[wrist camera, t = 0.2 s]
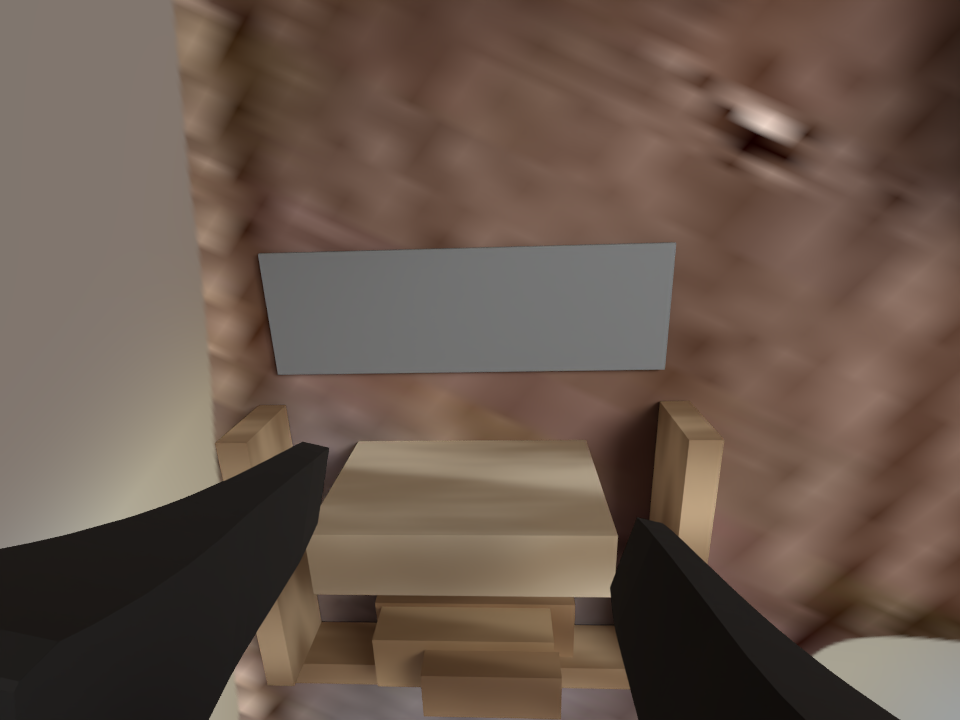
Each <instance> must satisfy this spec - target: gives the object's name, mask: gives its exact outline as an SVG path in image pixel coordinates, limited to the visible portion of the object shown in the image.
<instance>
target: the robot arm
mask: <svg viewBox="0 0 960 720" xmlns="http://www.w3.org/2000/svg"><path fill="white" fill-rule="evenodd" d="M328 452H329V448H328V447H323V446H319V445H314V444H310V443H306V442H301V443H299V444H297V445H295V446H293V447H291V448H289V449H287V450H285V451H283V452H281V453H279V454H277V455H276V456H274V457H272V458H270V459H268V460H266V461H264V462H262V463H260V464H258V465H256V466H254V467H252V468H250V469H248V470H246V471H244V472H242V473H240V474H238V475H236V476H234V477H231V478H229V479H227V480H225V481H222V482H220V483H218V484H216V485H213V486H211V487H209V488H207V489H204V490H202V491H200V492H197V493H195V494H193V495H191V496H188V497H186V498H183V499H180V500H178V501H175V502H173V503H170V504H167V505H164V506H162V507H159V508H156V509H153V510H150V511H147V512H144V513H141V514H138V515H135V516H132V517H129V518H126V519H122V520H119V521H115V522H111V523H107V524H104V525H101V526H97V527H93V528H89V529H86V530H82V531H78V532H75V533H71V534H67V535H63V536H59V537H55V538H50V539H46V540H41V541H37V542H33V543H28V544H23V545H18V546H12V547H7V548H2V549H0V720H209V718H210V716H211V714H212V712H213V710H214V708H215V706H216V704H217V702H218V700H219V698H220V696H221V694H222V692H223V690H224V688H225V686H226V684H227V682H228V680H229V678H230V676H231V674H232V673H233V671H234V669H235V667H236V666H237V664H238V662H239V660H240V659H241V657H242V655H243V653H244V652H245V650H246V648H247V647H248V645H249V644H250V642H251V640H252V639H253V637H254V636H255V634H256V632H257V631H258V629H259V628H260V626H261V624H262V623H263V621H264V620H265V618H266V616H267V615H268V613H269V612H270V610H271V608H272V607H273V605H274V604H275V602H276V600H277V599H278V597H279V596H280V594H281V592H282V591H283V589H284V587H285V586H286V584H287V583H288V581H289V579H290V578H291V576H292V574H293V573H294V571H295V569H296V568H297V566H298V564H299V563H300V561H301V559H302V557H303V554H304V552H305V550H306V548H307V546H308V544H309V542H310V539H311V537H312V535H313V533H314V531H315V528H316V526H317V524H318V519H319V512H320V506H321V499H322V492H323V486H324V479H325V472H326V466H327V459H328ZM610 593H611V602H612V611H613V618H614V625H615V632H616V636H617V640H618V644H619V648H620V652H621V656H622V660H623V663H624V667H625V671H626V675H627V679H628V682H629V686H630V690H631V693H632V697H633V701H634V705H635V708H636V712H637V716H638V720H899V719H898V718H896V717H895V716H893V715H892V714H891V713H889V712H888V711H886V710H885V709H883V708H882V707H880V706H879V705H877V704H876V703H875V702H873V701H872V700H870V699H869V698H867V697H866V696H864V695H863V694H862V693H860V692H859V691H857V690H856V689H854V688H853V687H852V686H850V685H849V684H847V683H846V682H845V681H843V680H842V679H841V678H839V677H838V676H836V675H835V674H834V673H832V672H831V671H829V670H828V669H827V668H826V667H825V666H823V665H822V664H821V663H819V662H818V661H817V660H815V659H814V658H813V657H812V656H811V655H809V654H808V653H807V652H805V651H804V650H803V649H802V648H800V647H799V646H798V645H796V644H795V643H794V642H793V641H792V640H790V639H789V638H788V637H787V636H785V635H784V634H783V633H782V632H781V631H779V630H778V629H777V628H776V627H775V626H774V625H773V624H771V623H770V622H769V621H768V620H767V619H766V618H765V617H763V616H762V615H761V614H760V613H759V612H758V611H757V610H756V609H754V608H753V607H752V606H751V605H750V604H749V603H748V602H747V601H746V600H744V599H743V598H742V597H741V596H740V595H739V594H738V593H737V592H736V591H735V590H734V589H733V588H732V587H730V586H729V585H728V584H727V583H726V582H725V581H724V580H723V579H722V578H721V577H720V576H719V575H718V574H717V573H716V572H715V571H714V570H713V569H712V568H711V567H710V566H709V565H708V564H707V563H706V562H704V561H703V560H702V559H701V558H700V557H699V556H698V555H697V554H696V553H695V552H694V551H693V550H692V549H691V548H690V547H689V546H688V545H687V544H686V543H685V542H684V541H683V540H682V539H681V538H679V537H678V536H677V535H676V534H675V533H674V532H673V531H672V530H671V529H669V528H668V527H667V526H666V525H664V524H663V523H660V522H655V521H651V520H646V519H642V518H638V517H637V519H636V522H635V524H634V527H633V529H632V532H631V534H630V537H629V540H628V542H627V545H626V547H625V550H624V552H623V555H622V558H621V560H620V563H619V565H618V568H617V570H616V573H615V576H614V578H613V581H612V583H611V586H610Z"/></svg>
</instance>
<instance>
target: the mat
mask: <svg viewBox="0 0 960 720" xmlns="http://www.w3.org/2000/svg"><path fill="white" fill-rule="evenodd" d="M675 251H676V243H674V242H671V243H633V244H595V245H557V246H519V247H481V248H443V249H405V250H367V251H329V252H291V253H260V254H258V258H259V264H260V270H261V276H262V282H263V288H264V294H265V300H266V306H267V312H268V318H269V324H270V330H271V336H272V342H273V348H274V354H275V360H276V366H277V372H278V375H292V374H365V373H439V372H513V371H587V370H660V369H665V362H666V350H667V339H668V328H669V317H670V306H671V295H672V284H673V273H674V262H675Z"/></svg>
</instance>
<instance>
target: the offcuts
mask: <svg viewBox="0 0 960 720" xmlns="http://www.w3.org/2000/svg"><path fill="white" fill-rule="evenodd" d="M375 607H376V615H377V625H376V629H375V632H374V635H373V639H372V643H373V651H374V659H375V667H376V675H377V683H378V686H394V687H421V689H422V700H423V711H424V716H440V717H485V718H531V719H561V693H562V675H561V667H560V659H559V656H561V657H573V649H574V622H575V602H574V597H524V596H422V595H377V598H376V601H375Z"/></svg>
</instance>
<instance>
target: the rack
mask: <svg viewBox="0 0 960 720" xmlns="http://www.w3.org/2000/svg"><path fill="white" fill-rule="evenodd" d="M215 446H216V450H217V455H218V459H219V464H220V469H221V473H222V478H223V481H225V480H227V479H229V478H231V477H234V476H236V475H238V474H240V473H242V472H244V471H246V470H248V469H250V468H252V467H254V466H256V465H258V464H260V463H262V462H264V461H266V460H268V459H270V458H272V457H274V456H276V455H277V454H279V453H281V452H283V451H285V450H287V449H289V448H291V447H293V446H292V440H291V434H290V428H289V422H288V416H287V409H286V405H259V406H258V407H256V408H255V409H254V410H253V411H252V412H251V413H250V414H248V415H247V416H246V417H245V418H244V419H243V420H241V421H240V422H239V423H238V424H237V425H236V426H234V427H233V428H232V429H231V430H230V431H229V432H227V433H226V434H225V435H224V436H223V437H222V438H221V439H219V440H218V441H217V442H216V443H215ZM723 446H724V439H723V438H722V437H721V436H720V435H719V434H718V432H717V431H716V430H715V429H714V428H713V427H712V426H711V425H710V424H709V422H708V421H707V420H706V419H705V418H704V417H703V416H702V415H701V414H700V412H699V411H698V410H697V409H696V408H695V407H694V406H693V405H692V404H691V402H690V401H660V406H659V417H658V428H657V439H656V451H655V462H654V473H653V484H652V495H651V507H650V518H649V520H651V521H655V522H660V523H663V524H664V525H666V526H667V527H668V528H669V529H671V530H672V531H673V532H674V533H675V534H676V535H677V536H678V537H679V538H681V539H682V540H683V541H684V542H685V543H686V544H687V545H688V546H689V547H690V548H691V549H692V550H693V551H694V552H695V553H696V554H697V555H698V556H699V557H700V558H701V559H702V560H703V561H704V562H706V563H708V556H709V549H710V541H711V534H712V527H713V519H714V512H715V505H716V497H717V490H718V483H719V475H720V468H721V461H722V453H723ZM376 625H377V623H370V622H321V616H320V610H319V604H318V598H317V594H314V593H313V587H312V581H311V575H310V569H309V563H308V557H307V551H306V550H305V552H304V554H303V557H302V559H301V561H300V563H299V564H298V566H297V568H296V569H295V571H294V573H293V574H292V576H291V578H290V579H289V581H288V583H287V584H286V586H285V587H284V589H283V591H282V592H281V594H280V596H279V597H278V599H277V600H276V602H275V604H274V605H273V607H272V608H271V610H270V612H269V613H268V615H267V616H266V618H265V620H264V621H263V623H262V624H261V626H260V628H259V629H258V631H257V632H256V634H257V638H258V643H259V647H260V652H261V656H262V661H263V666H264V670H265V675H266V679H267V684H268V685H276V686H294V685H295V683H329V684H378V683H377V675H376V667H375V659H374V651H373V643H372V639H373V635H374V632H375V629H376ZM559 659H560V667H561V675H562V688H595V689H630V686H629V682H628V679H627V675H626V671H625V667H624V663H623V660H622V656H621V652H620V648H619V644H618V640H617V636H616V632H615V626H612V625H574V649H573V657H561V656H559Z"/></svg>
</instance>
